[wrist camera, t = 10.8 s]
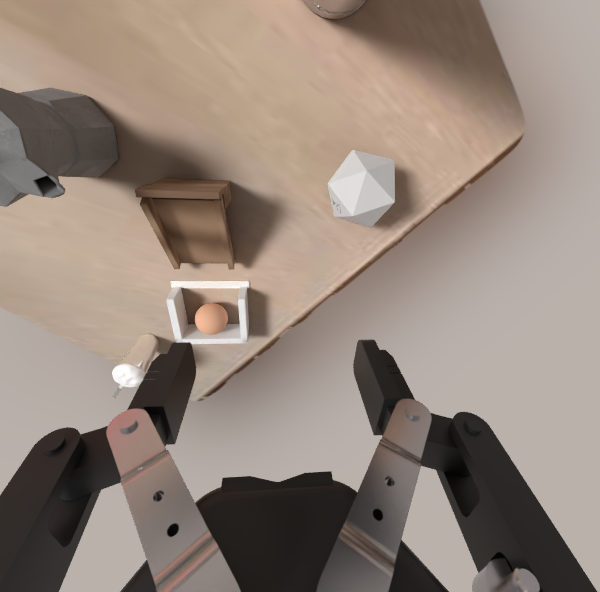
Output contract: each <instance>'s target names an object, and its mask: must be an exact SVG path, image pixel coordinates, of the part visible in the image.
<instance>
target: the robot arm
mask: <svg viewBox="0 0 600 592" xmlns="http://www.w3.org/2000/svg"><path fill="white" fill-rule="evenodd" d="M303 2H304V3H305V4H306V6H308V7H309V8H310V9H311V10H312V11H313V12H314V13H316V14H318V15H320V16H321V17H324V18H329V19H341V18H343V17H346V16H349V15H351V14H352V13H354V12H355V11H357V10H358V9H359V8H360V7H361V6H362V5H363V4H364V3H365V2H366V0H303ZM354 375H355V378H356V381H357V384H358V388H359V391H360V394H361V397H362V400H363V403H364V406H365V409H366V412H367V415H368V418H369V422H370V425H371V428H372V431H373V434H374V435H382V436H383V437H382V439H381V440H380V442H379V444H378V446H377V448H376V451H375V453H374V455H373V458H372V460H371V463H370V465H369V467H368V470H367V472H366V474H365V477H364V479H363V481H362V484H361V486H360V488H359V491H358V493H357V492H356V491H355V490H353V489H352V488H350V487H349V486H347V485H345V484H343V483H340V482H338V481H334V480H333V479H332V474H331V472H314V473H304V474H301V475H298V476H295V477H292V478H290V479H287V480H284V481H281V482H273V481H269V480H264V479H260V478H256V477H251V476H247V477H230V478H223V479H222V486H221V487H220V488H217V489H215V490H213V491H211V492H209V493H208V494H206V495H204V496H203V497H202V498H201V499H199V500H198V501H197V502H196V503H195V502H194V500H193V498H192V496H191V494H190V492H189V490H188V489H187V486H186V484H185V482H184V481H183V478H182V476H181V475H180V473H179V470H178V468H177V467H176V465H175V463H174V461H173V459H172V457H171V455H170V453H169V451H168V450H166V448H165V446H166V444H175V442H176V439H177V436H178V432H179V429H180V425H181V423H182V420H183V416H184V413H185V410H186V407H187V403H188V400H189V397H190V394H191V390H192V387H193V384H194V381H195V376H196V365H195V360H194V355H193V350H192V345H191V343H190V342H179V343H173V344H172V345H171V347H170V349H169V352H168V354H160V355H159V356H158V357H157V358H156V359H155V360H154V361H152V363H151V365H150V367H149V369H148V370H147V373H146V374H145V376H144V378H143V381H142V382H141V384H140V386H139V388H138V390H137V392H136V394H135V396H134V398H133V400H132V402H131V404H130V406H129V408H128V409H127V411H124V412H122V413H121V414H119V415H117V416H116V417H115V418H114V419H113V420H112V421H111V422H110V424H109V425H108V426H106V427H104V428H101V429H98V430H94V431H91V432H88V433H85V434H81V435H80V433H79V432H78V430H76V429H74V428H62V429H58V430H55V431H53V432H51V433H49V434H48V435H46V436H44V437H43V438H42V439H41V440H40V441H38V442H37V443H36V444H35V445H34V447H33V448H32V450H31V451H30V453H29V454H28V456H27V457H26V458H25V460H24V461H23V463H22V464H21V466H20V467H19V469H18V470H17V472H16V473H15V475H14V476H13V478H12V479H11V481H10V482H9V483H8V485H7V486H6V488H5V489H4V491H3V492H2V494H1V495H0V592H59V590H60V587H61V585H62V582H63V580H64V578H65V575H66V573H67V570H68V568H69V566H70V563H71V561H72V558H73V556H74V553H75V551H76V548H77V546H78V544H79V541H80V539H81V536H82V534H83V532H84V529H85V527H86V525H87V522H88V520H89V517H90V515H91V512H92V510H93V508H94V505H95V503H96V500H97V498H98V496H99V493H100V491H101V489H104V488H107V487H109V486H112V485H115V484H117V483H120V482H121V484H122V487H123V490H124V493H125V496H126V499H127V502H128V505H129V508H130V511H131V514H132V517H133V520H134V522H135V526H136V529H137V531H138V535H139V538H140V541H141V543H142V546H143V549H144V552H145V555H146V558H147V560H146V561H145V563H144V564H143V565H142V566H141V567H140V569H139V570H138V571H137V572H136V573H135V575H134V576H133V577H132V578H131V580H130V581H129V582H128V583H127V584H126V586H125V587H124V588H123V589H122V590H121V592H449V591H448V590H447V589H446V588H445V587H444V586H443V585H442V584H441V583H440V582H439V580H438V579H437V578H436V577H435V576H434V575H433V574H432V573H431V572H430V571H429V569H427V567H426V566H425V565H424V564H423V563H422V562H421V561H420V560H419V558H418V557H417V556H416V555H415V554H414V553H413V552H412V551H411V550H410V549H409V548H408V546H407V545H406V544H405V543H404V542H403V541H402V540H401V538H402V534H403V530H404V527H405V523H406V519H407V515H408V512H409V508H410V505H411V501H412V497H413V493H414V490H415V486H416V482H417V479H418V475H419V471H420V467H421V466H425V467H428V468H432V469H436V471H437V473H438V476H439V478H440V481H441V483H442V485H443V488H444V490H445V493H446V495H447V498H448V500H449V502H450V505H451V507H452V509H453V512H454V514H455V517H456V519H457V522H458V524H459V526H460V529H461V531H462V534H463V536H464V539H465V541H466V543H467V546H468V548H469V551H470V553H471V556H472V558H473V560H474V563H475V565H476V568H477V570H478V574H477V575H476V577H475V578H474V580H473V585H472V591H473V592H597V591H596V589H595V588H594V586H593V585H592V583H591V581H590V580H589V578H588V577H587V575H586V574H585V572H584V571H583V569H582V568H581V566H580V565H579V563H578V562H577V560H576V558H575V557H574V555H573V554H572V552H571V551H570V549H569V548H568V546H567V545H566V543H565V542H564V540H563V538H562V537H561V535H560V534H559V532H558V531H557V529H556V528H555V526H554V525H553V523H552V522H551V520H550V519H549V517H548V515H547V514H546V512H545V511H544V509H543V508H542V506H541V505H540V503H539V502H538V500H537V499H536V497H535V495H534V494H533V492H532V491H531V489H530V488H529V487H528V485H527V483H526V482H525V480H524V479H523V477H522V476H521V474H520V472H519V471H518V469H517V468H516V466H515V465H514V463H513V462H512V460H511V459H510V457H509V455H508V454H507V452H506V451H505V449H504V448H503V446H502V445H501V443H500V442H499V440H498V439H497V437H496V435H495V434H494V432H493V431H492V429H491V428H490V426H489V425H488V424H487V423H486V422H485V421H484V420H483V419H481V418H480V417H478V416H477V415H474V414H472V413H468V412H459V413H457V414H456V415H455V416H454V418H453V419H451V418H447V417H443V416H439V415H435V414H432V413H430V411H429V410H428V409H427V408H426V407H425V406H424V405H423V404H422V403H420V402H418V401H416V400H415V399H414V397H413V395H412V393H411V391H410V389H409V387H408V385H407V383H406V381H405V379H404V377H403V376H402V374H401V372H400V370H399V368H398V367H397V364H396V362H395V360H394V358H393V357H392V356H391V355H390V354H389V353H388V352H387V351H386V350H379V348H378V346H377V344H376V342H375V340H359V341H358V343H357V348H356V353H355V359H354Z"/></svg>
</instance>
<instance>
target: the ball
mask: <svg viewBox="0 0 600 592" xmlns="http://www.w3.org/2000/svg"><path fill="white" fill-rule="evenodd" d="M227 322H228V315H227V312H226V310H225V309H224V308H223V307H222V306H220V305H218V304H215V303H208V304H205V305H203V306H202V307H200V308H199V309H198V311H197V313H196V315H195V323H196V326H197V328H198V329H199V330H200V331H201V332H203V333H205V334H208V335H214V334H217V333H219V332H221V331H222V330H223V329H224V328H225V327H226V325H227Z"/></svg>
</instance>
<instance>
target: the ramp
mask: <svg viewBox="0 0 600 592" xmlns="http://www.w3.org/2000/svg"><path fill="white" fill-rule="evenodd" d="M135 193H136V197H142V199H141V202H140V205H141V207H142V209H143V211H144V213H145V215H146V217H147V219H148V220H149V222H150V224H151V226H152V228H153V230H154V232H155V234H156V235H157V237H158V239H159V241H160V243H161V245H162V247H163V249H164V250H165V252H166V254H167V256H168V258H169V260H170V262H171V264H172V265H173V267H174V269H180V264H181V263H228V268H229V269H234V262H235V258H234V253H233V248H232V243H231V238H230V233H229V228H228V223H227V218H226V213H225V210H226V208H227V207H228V205H229V203H230V201H231V187H230V181H222V180H192V179H162V180H160V181H158V182H156V183H154V184H146V185H144V186H142V187H140V188H138V189H136V190H135Z"/></svg>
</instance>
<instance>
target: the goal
mask: <svg viewBox="0 0 600 592" xmlns="http://www.w3.org/2000/svg"><path fill="white" fill-rule="evenodd" d="M166 301H167V305H168V310H169V314H170V318H171V323H172V327H173V331H174V336H175V340H176V343H179V342H190V343H191V344H226V343H248V335H249V314H248V297H247V286H240V291H239V296H238V307H239V320H240V324H227V325H226V327H225V328H224V329H223V330H222V331H221V332H219V333H217V334H214V335H208V334H205V333H203V332H201V331H200V330H199V329H198V328H197V326H196V324H188V320H187V315H186V310H185V304H184V299H183V294H182V289H181V286H174V288H173V289H172V291H171V292H170V294H169V296H168V297H167V299H166Z"/></svg>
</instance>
